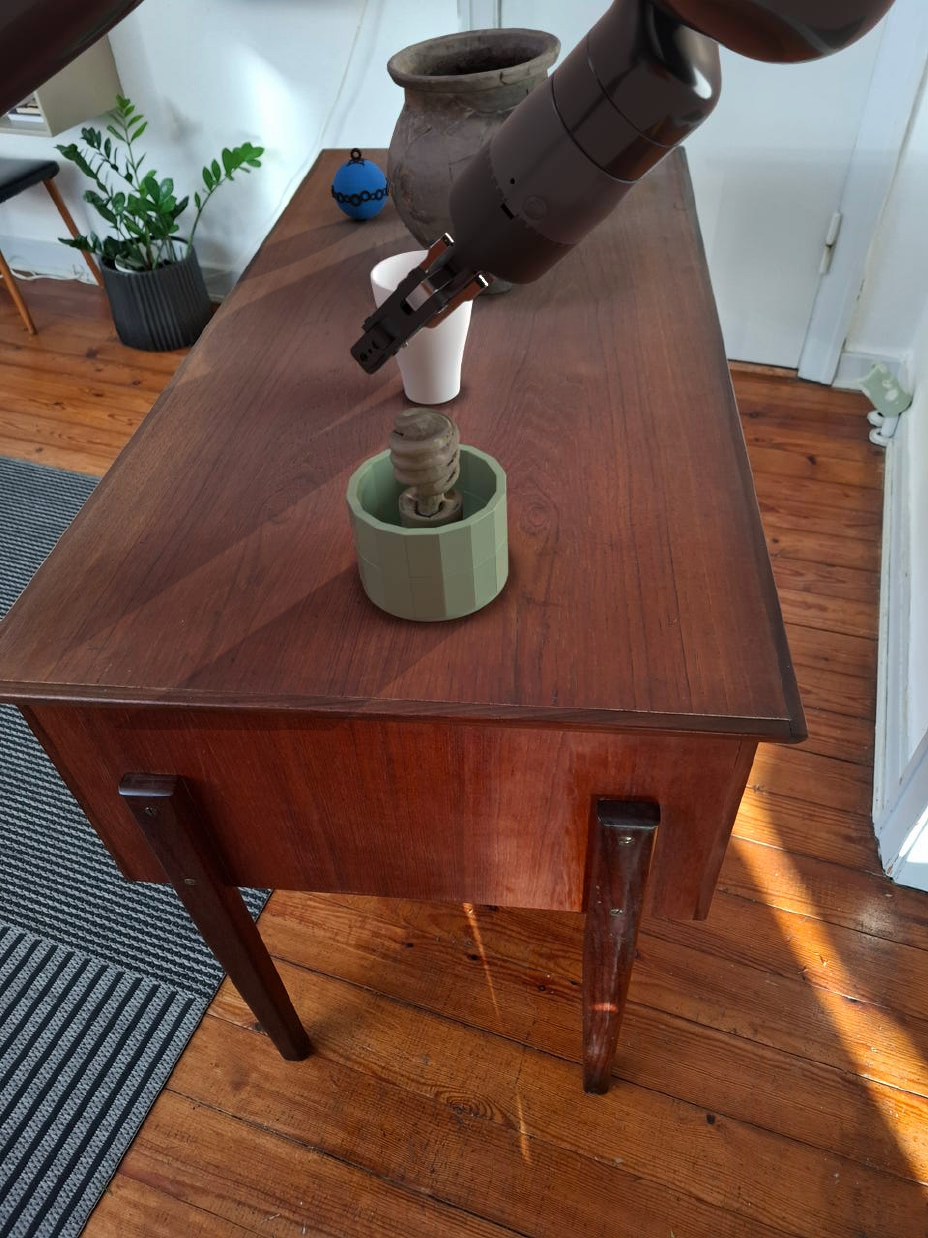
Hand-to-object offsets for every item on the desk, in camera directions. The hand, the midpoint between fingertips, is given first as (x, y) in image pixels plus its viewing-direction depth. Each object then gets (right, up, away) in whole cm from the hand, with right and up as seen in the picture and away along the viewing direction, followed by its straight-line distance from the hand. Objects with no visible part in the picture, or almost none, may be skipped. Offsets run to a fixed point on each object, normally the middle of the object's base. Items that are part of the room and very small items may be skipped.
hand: (395, 334), depth 62 cm
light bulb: (+2, -16, +14) cm, 21 cm away
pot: (+2, -16, +14) cm, 21 cm away
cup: (+1, +5, +37) cm, 37 cm away
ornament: (-11, +42, +76) cm, 88 cm away
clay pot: (+8, +25, +57) cm, 62 cm away
